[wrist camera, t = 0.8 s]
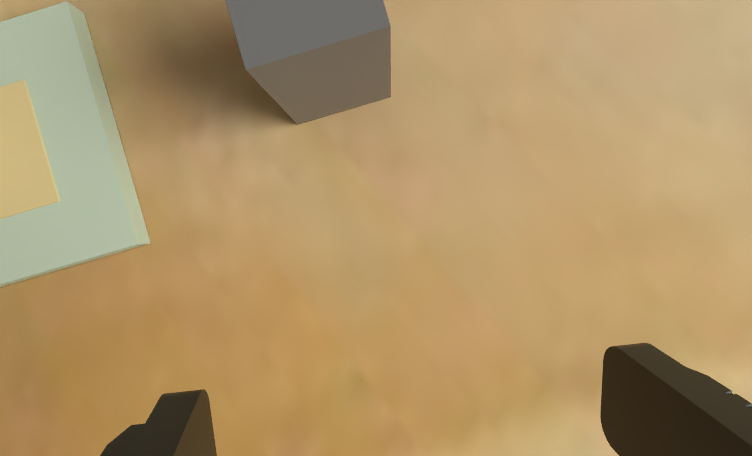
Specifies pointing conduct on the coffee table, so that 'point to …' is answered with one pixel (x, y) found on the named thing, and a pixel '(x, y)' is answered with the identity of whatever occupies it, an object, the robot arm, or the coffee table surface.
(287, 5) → the block
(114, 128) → the pin board
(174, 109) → the coffee table surface
